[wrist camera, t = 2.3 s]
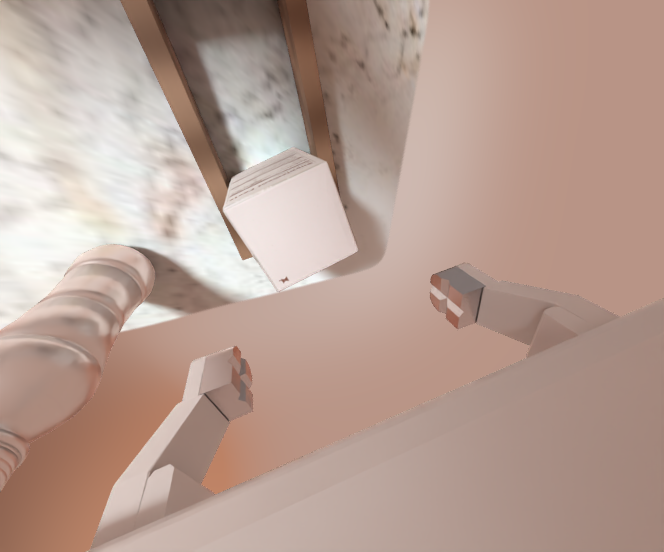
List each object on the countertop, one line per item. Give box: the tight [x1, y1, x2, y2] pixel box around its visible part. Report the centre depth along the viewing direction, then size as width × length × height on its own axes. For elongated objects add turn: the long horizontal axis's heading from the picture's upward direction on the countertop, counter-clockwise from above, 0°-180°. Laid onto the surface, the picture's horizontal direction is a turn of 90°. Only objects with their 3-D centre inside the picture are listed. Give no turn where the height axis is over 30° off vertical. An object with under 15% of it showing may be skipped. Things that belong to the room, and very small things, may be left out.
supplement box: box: [223, 147, 358, 292], centre depth 22 cm, size 7×7×13 cm
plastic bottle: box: [0, 244, 155, 492], centre depth 18 cm, size 6×7×20 cm
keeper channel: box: [120, 0, 340, 260], centre depth 22 cm, size 22×12×4 cm, turn 11°
